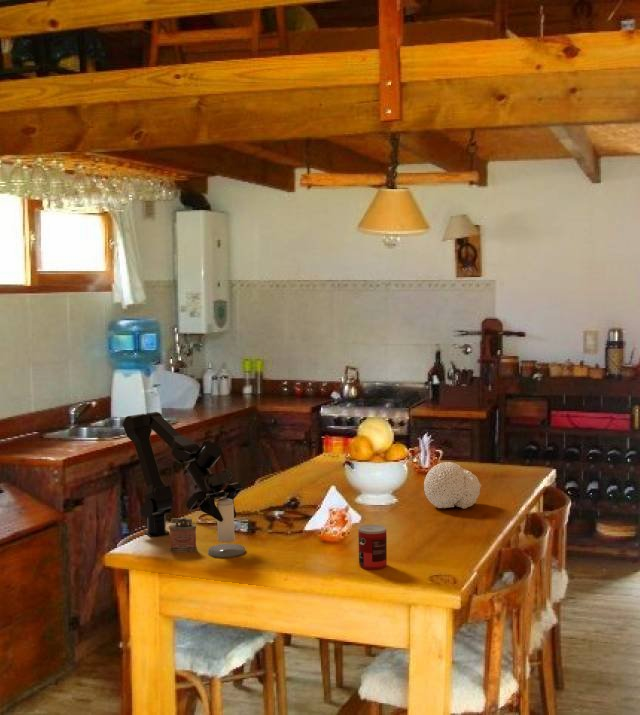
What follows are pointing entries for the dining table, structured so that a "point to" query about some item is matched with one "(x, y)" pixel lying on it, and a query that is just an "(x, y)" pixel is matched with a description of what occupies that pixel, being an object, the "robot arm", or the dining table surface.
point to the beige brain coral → (451, 486)
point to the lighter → (182, 535)
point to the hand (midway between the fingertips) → (228, 519)
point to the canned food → (372, 547)
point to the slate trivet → (226, 550)
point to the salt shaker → (226, 520)
